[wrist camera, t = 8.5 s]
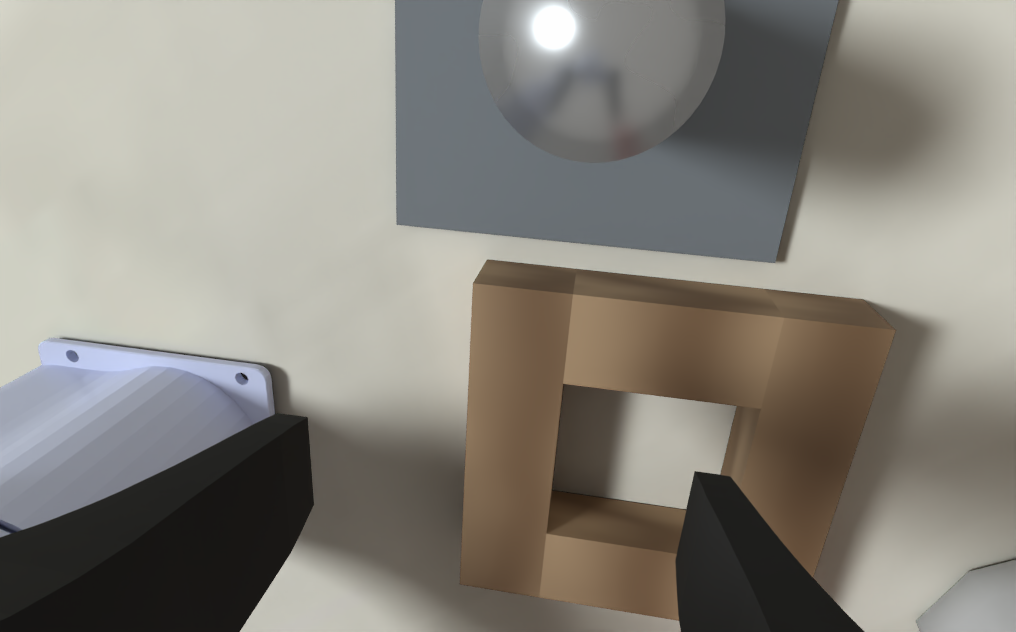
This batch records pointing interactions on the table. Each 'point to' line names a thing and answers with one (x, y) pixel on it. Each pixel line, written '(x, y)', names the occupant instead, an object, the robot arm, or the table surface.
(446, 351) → the table surface
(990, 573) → the flask
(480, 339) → the pocket block
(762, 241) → the slate mat
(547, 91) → the peg
